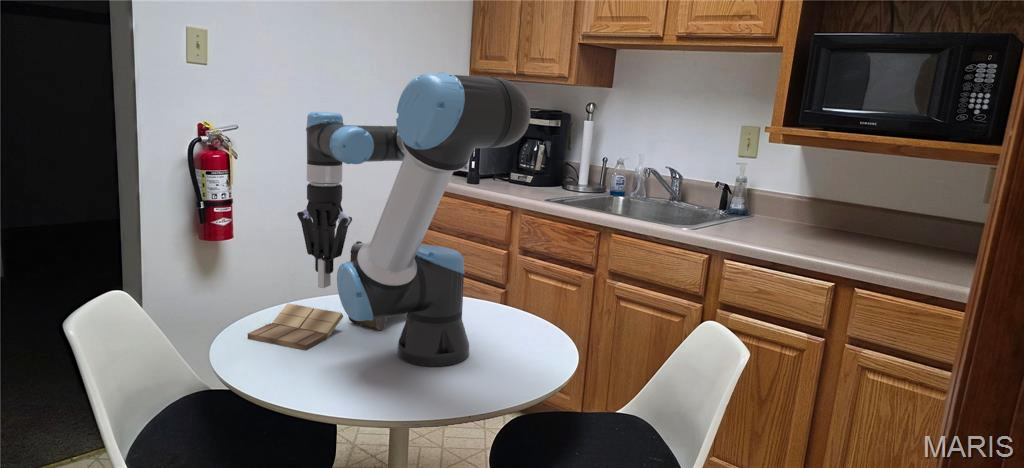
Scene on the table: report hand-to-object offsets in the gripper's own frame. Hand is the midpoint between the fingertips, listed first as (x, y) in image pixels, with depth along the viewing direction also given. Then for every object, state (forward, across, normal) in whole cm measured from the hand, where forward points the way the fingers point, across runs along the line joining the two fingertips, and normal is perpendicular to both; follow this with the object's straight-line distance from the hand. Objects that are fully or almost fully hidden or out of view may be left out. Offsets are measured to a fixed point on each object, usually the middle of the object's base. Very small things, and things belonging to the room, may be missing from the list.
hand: (324, 286), depth 152 cm
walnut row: (+10, +3, +9) cm, 14 cm away
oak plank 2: (+9, 0, +1) cm, 9 cm away
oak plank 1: (+9, +7, +1) cm, 11 cm away
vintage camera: (+11, -9, -12) cm, 18 cm away
